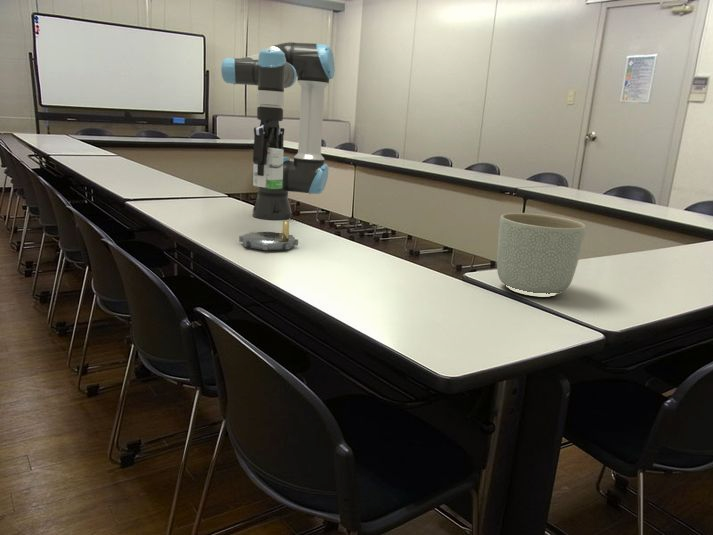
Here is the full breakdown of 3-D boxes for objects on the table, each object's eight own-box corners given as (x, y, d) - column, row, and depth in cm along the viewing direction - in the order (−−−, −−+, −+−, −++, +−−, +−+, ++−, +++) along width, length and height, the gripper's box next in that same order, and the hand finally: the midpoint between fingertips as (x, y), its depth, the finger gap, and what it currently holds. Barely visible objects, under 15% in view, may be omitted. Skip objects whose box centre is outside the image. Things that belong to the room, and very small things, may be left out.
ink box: (283, 188, 173) (285, 148, 170) (271, 189, 169) (272, 148, 166) (264, 184, 178) (265, 146, 175) (252, 185, 174) (253, 146, 171)
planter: (573, 309, 138) (587, 232, 133) (485, 295, 144) (496, 220, 139) (573, 288, 157) (585, 219, 152) (496, 275, 163) (505, 209, 158)
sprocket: (300, 239, 187) (301, 215, 185) (295, 252, 169) (296, 225, 167) (244, 235, 186) (245, 211, 184) (234, 248, 168) (234, 221, 166)
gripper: (275, 106, 177) (273, 181, 183) (240, 104, 160) (239, 187, 166) (297, 108, 175) (294, 184, 181) (264, 106, 157) (261, 190, 163)
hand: (267, 185), depth 173 cm, fingers closed on ink box, 6 cm apart
